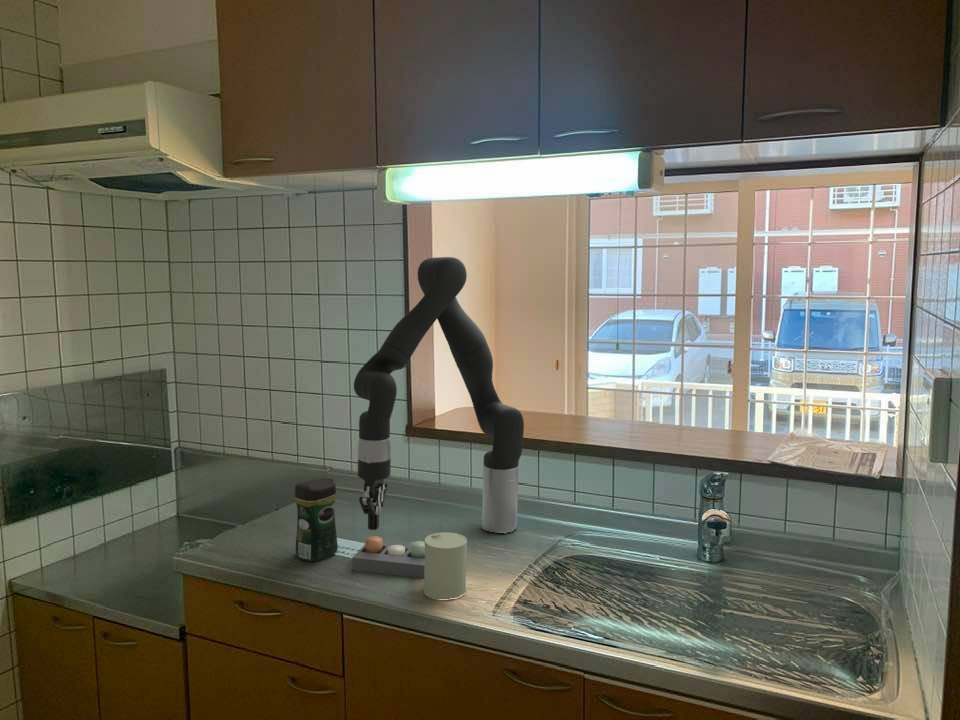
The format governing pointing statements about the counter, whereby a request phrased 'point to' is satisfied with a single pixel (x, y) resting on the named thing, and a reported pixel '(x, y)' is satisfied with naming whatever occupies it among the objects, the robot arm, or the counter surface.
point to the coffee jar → (316, 519)
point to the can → (445, 565)
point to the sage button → (417, 549)
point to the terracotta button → (374, 544)
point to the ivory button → (396, 550)
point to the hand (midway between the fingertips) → (373, 528)
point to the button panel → (389, 561)
